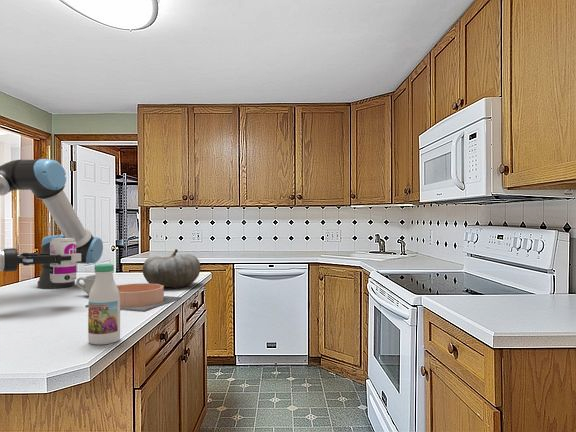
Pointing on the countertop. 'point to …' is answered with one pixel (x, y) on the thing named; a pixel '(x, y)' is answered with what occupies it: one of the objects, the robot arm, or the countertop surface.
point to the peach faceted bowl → (142, 296)
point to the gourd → (172, 270)
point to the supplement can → (66, 269)
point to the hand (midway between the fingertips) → (77, 256)
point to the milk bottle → (104, 307)
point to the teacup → (86, 283)
